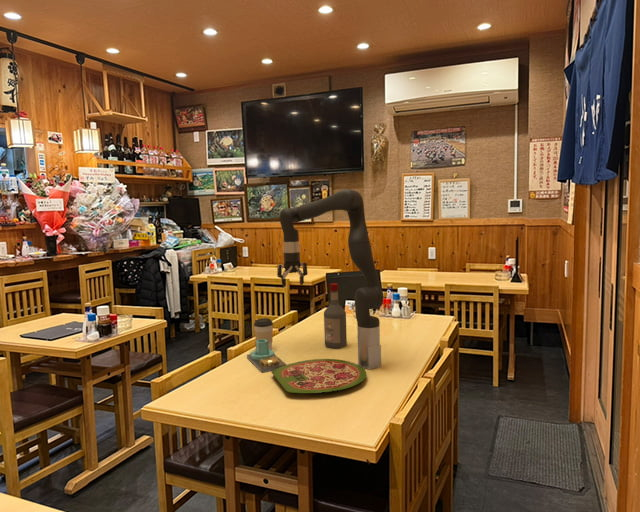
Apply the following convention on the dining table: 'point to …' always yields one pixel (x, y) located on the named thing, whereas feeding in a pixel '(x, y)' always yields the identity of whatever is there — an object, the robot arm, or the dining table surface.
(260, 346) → the teal flanged hub
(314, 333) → the dining table surface
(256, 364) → the plate
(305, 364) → the pizza
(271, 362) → the sun gear
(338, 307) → the liquor
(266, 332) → the coffee cup
